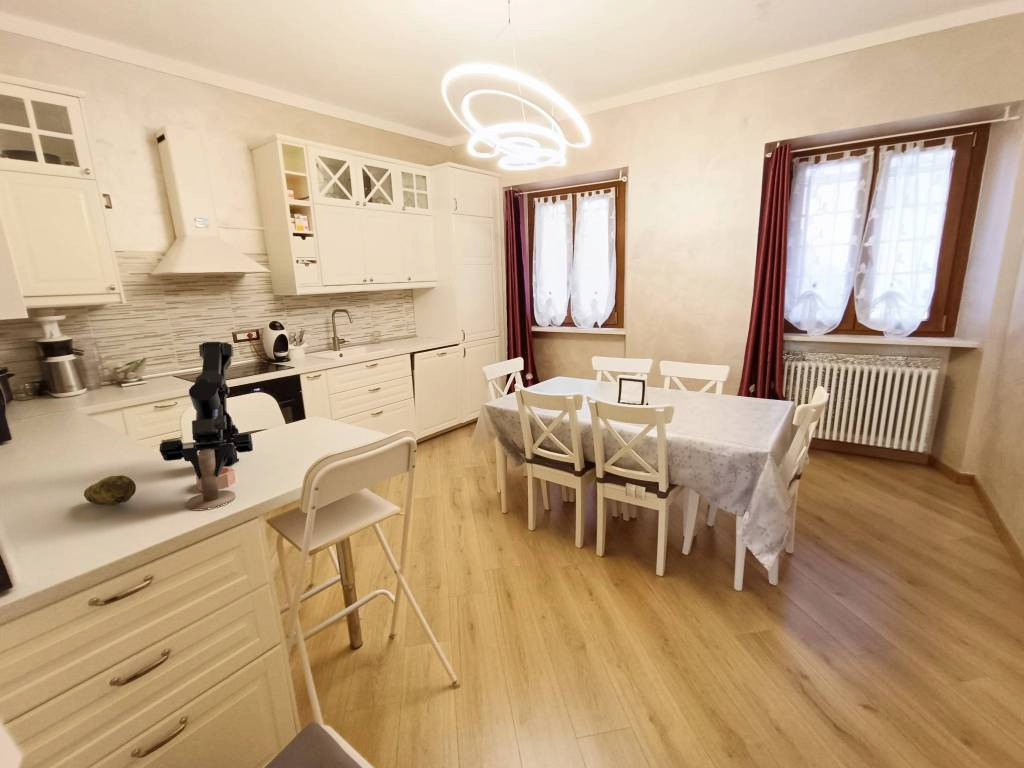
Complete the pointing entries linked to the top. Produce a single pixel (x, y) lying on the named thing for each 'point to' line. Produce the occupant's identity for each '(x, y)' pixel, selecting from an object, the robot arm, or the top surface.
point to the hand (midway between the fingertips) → (208, 477)
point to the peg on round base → (209, 484)
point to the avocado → (111, 490)
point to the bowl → (222, 478)
